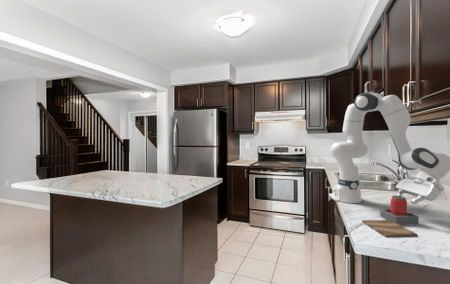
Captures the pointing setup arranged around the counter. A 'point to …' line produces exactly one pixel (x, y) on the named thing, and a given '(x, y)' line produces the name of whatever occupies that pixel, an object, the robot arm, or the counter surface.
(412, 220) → the can collar
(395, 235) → the walnut board
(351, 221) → the counter surface
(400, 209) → the beer can
